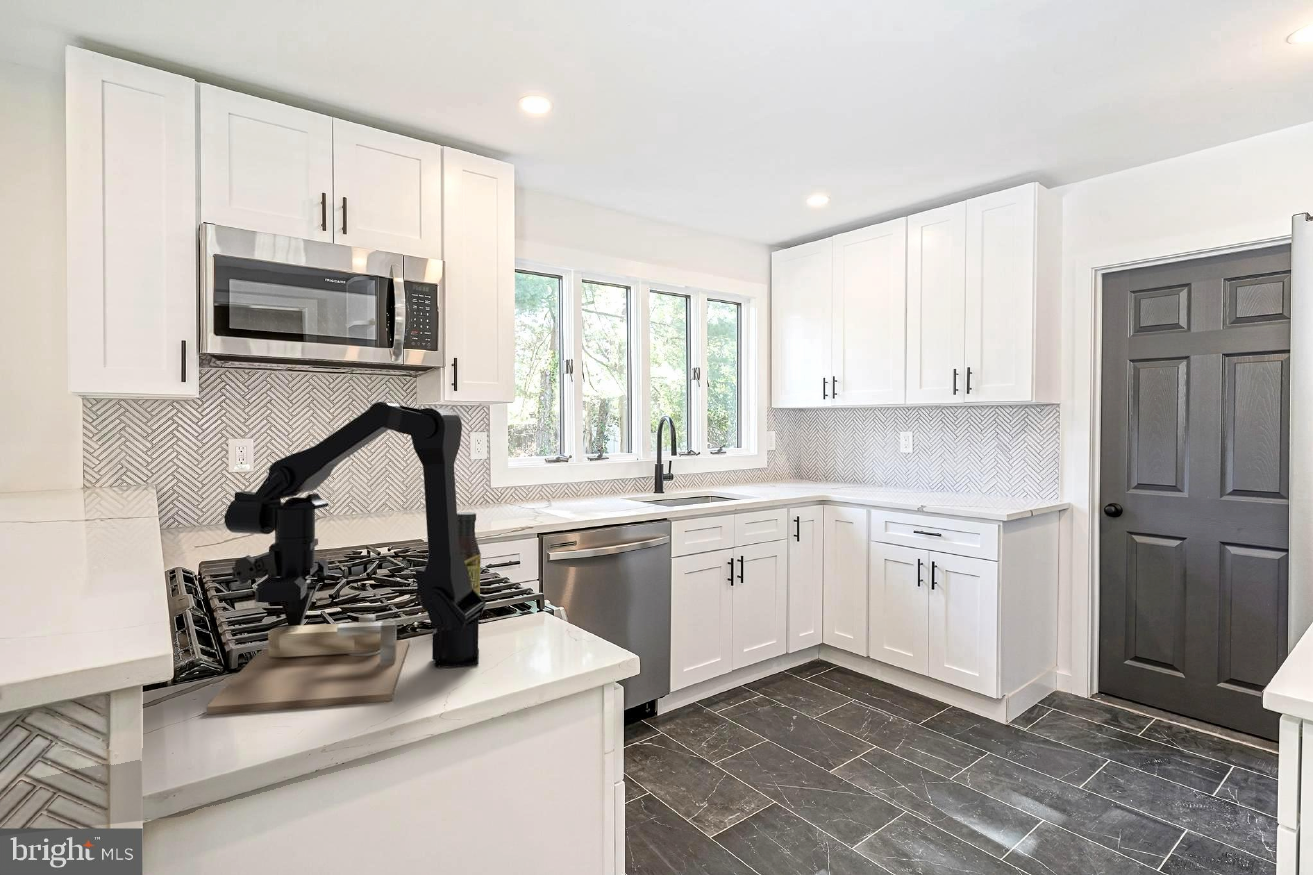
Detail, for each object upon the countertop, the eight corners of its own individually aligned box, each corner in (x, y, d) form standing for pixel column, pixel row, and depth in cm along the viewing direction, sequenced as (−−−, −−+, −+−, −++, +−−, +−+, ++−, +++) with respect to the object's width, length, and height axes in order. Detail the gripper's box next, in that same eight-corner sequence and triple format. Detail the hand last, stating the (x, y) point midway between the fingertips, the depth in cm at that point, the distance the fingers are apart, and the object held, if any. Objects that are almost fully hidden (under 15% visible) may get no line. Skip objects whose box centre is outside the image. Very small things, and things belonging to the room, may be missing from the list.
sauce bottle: (469, 621, 125) (471, 516, 125) (439, 619, 126) (440, 514, 126) (485, 612, 132) (487, 511, 131) (456, 609, 133) (457, 510, 132)
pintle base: (409, 645, 112) (410, 604, 111) (391, 700, 90) (392, 649, 90) (262, 654, 106) (263, 610, 106) (206, 714, 85) (206, 660, 85)
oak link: (385, 641, 109) (386, 620, 109) (381, 652, 104) (381, 630, 104) (273, 647, 105) (274, 625, 105) (263, 659, 100) (263, 636, 100)
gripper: (259, 526, 116) (258, 616, 116) (216, 547, 97) (215, 653, 98) (329, 525, 118) (328, 613, 119) (300, 545, 100) (299, 649, 101)
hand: (294, 630), depth 109 cm, fingers closed
